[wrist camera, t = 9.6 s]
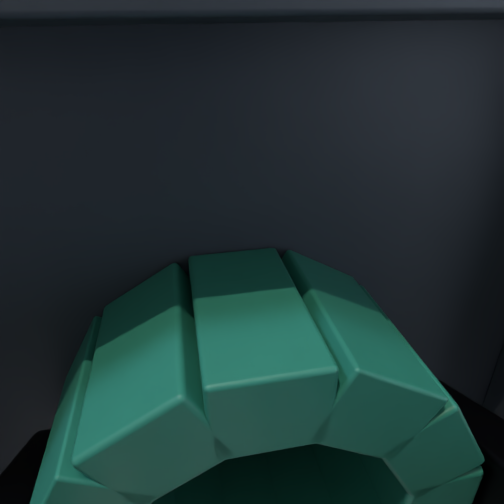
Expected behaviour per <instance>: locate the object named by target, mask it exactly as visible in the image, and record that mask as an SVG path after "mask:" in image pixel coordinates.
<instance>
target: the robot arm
mask: <svg viewBox="0 0 504 504" xmlns="http://www.w3.org/2000/svg"><path fill="white" fill-rule="evenodd" d="M438 380H439V379H438ZM439 382H440V383H441V384H442V385H443V387H444V388H445V389H446V391H447V392H448V393H449V394H450V396H451V397H452V398H453V399H454V401H455V402H456V403H457V404H458V406H459V408H460V410H461V412H462V414H463V416H464V418H465V420H466V422H467V424H468V426H469V428H470V430H471V432H472V434H473V436H474V438H475V440H476V442H477V444H478V446H479V448H480V450H481V452H482V454H483V456H484V460H485V461H484V462H483V463H482V464H481V465H480V466H481V467H482V470H483V477H482V480H481V482H480V485H479V487H478V490H477V493H476V495H475V498H474V501H473V503H472V504H504V419H503V418H501V417H499V416H498V415H496V414H494V413H493V412H491V411H489V410H488V409H486V408H485V407H483V406H481V405H480V404H478V403H476V402H475V401H473V400H471V399H470V398H468V397H467V396H465V395H463V394H462V393H460V392H458V391H457V390H455V389H453V388H452V387H450V386H449V385H447V384H445V383H444V382H442V381H440V380H439ZM50 431H51V429H46V430H41V431H38V432H36V433H35V434H34V435H33V436H32V437H31V438H30V440H29V441H28V442H27V443H26V444H25V446H24V447H23V448H22V449H21V450H20V452H19V453H18V454H17V455H16V456H15V458H14V459H13V460H12V461H11V462H10V464H9V465H8V466H7V467H6V468H5V470H4V471H3V472H2V473H1V474H0V504H30V501H31V498H32V494H33V491H34V487H35V484H36V480H37V477H38V473H39V470H40V466H41V463H42V459H43V456H44V452H45V449H46V445H47V442H48V438H49V435H50Z"/></svg>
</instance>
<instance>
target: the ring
mask: <svg viewBox="0 0 504 504" xmlns="http://www.w3.org/2000/svg"><path fill="white" fill-rule="evenodd" d="M188 264H189V274H190V278H189V276H188V275H187V274H186V273H185V272H184V270H183V269H182V268H181V267H180V266H179V265H178V264H177V263H172V264H170V265H169V266H167V267H166V268H164V269H163V270H161V271H159V272H158V273H156V274H155V275H153V276H152V277H150V278H149V279H147V280H145V281H144V282H142V283H141V284H139V285H138V286H136V287H134V288H133V289H131V290H130V291H128V292H127V293H125V294H124V295H122V296H120V297H119V298H117V299H116V300H114V301H113V302H111V303H109V304H108V305H106V306H105V308H104V311H103V315H102V317H99V316H95V317H94V318H93V320H92V322H91V324H90V326H89V329H88V331H87V333H86V335H85V337H84V339H83V342H82V344H81V346H80V348H79V350H78V352H77V355H76V357H75V359H74V361H73V363H72V365H71V368H70V370H69V372H68V374H67V376H66V379H65V383H64V386H63V390H62V393H61V397H60V400H59V404H58V407H57V410H56V414H55V417H54V421H53V424H52V428H51V431H50V435H49V438H48V442H47V445H46V449H45V452H44V456H43V459H42V463H41V466H40V470H39V473H38V477H37V480H36V484H35V487H34V491H33V494H32V498H31V501H30V504H472V503H473V501H474V498H475V495H476V493H477V490H478V487H479V485H480V482H481V480H482V477H483V470H482V467H481V466H480V465H481V464H482V463H483V462H484V461H485V460H484V456H483V454H482V452H481V450H480V448H479V446H478V444H477V442H476V440H475V438H474V436H473V434H472V432H471V430H470V428H469V426H468V424H467V422H466V420H465V418H464V416H463V414H462V412H461V410H460V408H459V406H458V404H457V403H456V402H455V401H454V399H453V398H452V397H451V396H450V394H449V393H448V392H447V391H446V389H445V388H444V387H443V385H442V384H441V383H440V382H439V380H438V379H437V378H436V377H435V375H434V374H433V373H432V372H431V370H430V369H429V368H428V367H427V365H426V364H425V363H424V362H423V360H422V359H421V358H420V357H419V355H418V354H417V353H416V352H415V350H414V349H413V348H412V347H411V345H410V344H409V343H408V342H407V340H406V339H405V338H404V337H403V335H402V334H401V333H400V332H399V330H398V329H397V328H396V327H395V325H394V324H393V323H392V322H391V320H390V319H389V318H388V317H387V315H386V314H385V313H384V312H383V310H382V309H381V308H380V307H379V305H378V304H377V303H376V302H375V300H374V299H373V298H372V297H371V295H370V294H369V293H368V292H367V290H366V289H365V288H364V287H363V286H361V285H359V284H358V283H357V282H356V280H355V279H354V278H353V277H352V276H349V275H347V274H345V273H342V272H340V271H338V270H335V269H333V268H331V267H329V266H326V265H324V264H322V263H319V262H317V261H315V260H312V259H310V258H308V257H305V256H303V255H301V254H299V253H296V252H294V251H292V250H287V251H286V253H285V254H284V256H283V258H282V259H281V258H280V256H279V254H278V252H277V250H276V249H275V248H265V249H255V250H245V251H235V252H226V253H216V254H206V255H196V256H191V257H189V259H188Z"/></svg>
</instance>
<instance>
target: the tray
mask: <svg viewBox="0 0 504 504" xmlns="http://www.w3.org/2000/svg"><path fill="white" fill-rule="evenodd" d="M265 248H275V249H276V250H277V252H278V254H279V256H280V258H281V259H282V258H283V256H284V254H285V253H286V251H287V250H292V251H294V252H296V253H299V254H301V255H303V256H305V257H308V258H310V259H312V260H315V261H317V262H319V263H322V264H324V265H326V266H329V267H331V268H333V269H335V270H338V271H340V272H342V273H345V274H347V275H349V276H352V277H353V278H354V279H355V280H356V282H357V283H358V284H359V285H361V286H363V287H364V288H365V289H366V290H367V292H368V293H369V294H370V295H371V297H372V298H373V299H374V300H375V302H376V303H377V304H378V305H379V307H380V308H381V309H382V310H383V312H384V313H385V314H386V315H387V317H388V318H389V319H390V320H391V322H392V323H393V324H394V325H395V327H396V328H397V329H398V330H399V332H400V333H401V334H402V335H403V337H404V338H405V339H406V340H407V342H408V343H409V344H410V345H411V347H412V348H413V349H414V350H415V352H416V353H417V354H418V355H419V357H420V358H421V359H422V360H423V362H424V363H425V364H426V365H427V367H428V368H429V369H430V370H431V372H432V373H433V374H434V375H435V377H436V378H437V379H439V380H440V381H442V382H444V383H445V384H447V385H449V386H450V387H452V388H453V389H455V390H457V391H458V392H460V393H462V394H463V395H465V396H467V397H468V398H470V399H471V400H473V401H475V402H476V403H478V404H480V405H481V406H483V407H485V408H486V409H488V410H489V411H491V412H493V413H494V414H496V415H498V416H499V417H501V418H503V419H504V0H0V474H1V473H2V472H3V471H4V470H5V468H6V467H7V466H8V465H9V464H10V462H11V461H12V460H13V459H14V458H15V456H16V455H17V454H18V453H19V452H20V450H21V449H22V448H23V447H24V446H25V444H26V443H27V442H28V441H29V440H30V438H31V437H32V436H33V435H34V434H35V433H36V432H38V431H41V430H46V429H51V428H52V424H53V421H54V417H55V414H56V410H57V407H58V404H59V400H60V397H61V393H62V390H63V386H64V383H65V379H66V376H67V374H68V372H69V370H70V368H71V365H72V363H73V361H74V359H75V357H76V355H77V352H78V350H79V348H80V346H81V344H82V342H83V339H84V337H85V335H86V333H87V331H88V329H89V326H90V324H91V322H92V320H93V318H94V317H95V316H99V317H102V315H103V311H104V308H105V306H106V305H108V304H109V303H111V302H113V301H114V300H116V299H117V298H119V297H120V296H122V295H124V294H125V293H127V292H128V291H130V290H131V289H133V288H134V287H136V286H138V285H139V284H141V283H142V282H144V281H145V280H147V279H149V278H150V277H152V276H153V275H155V274H156V273H158V272H159V271H161V270H163V269H164V268H166V267H167V266H169V265H170V264H172V263H177V264H178V265H179V266H180V267H181V268H182V269H183V270H184V272H185V273H186V274H187V275H188V276H189V278H190V274H189V264H188V259H189V257H191V256H196V255H206V254H216V253H226V252H235V251H245V250H255V249H265Z"/></svg>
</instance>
